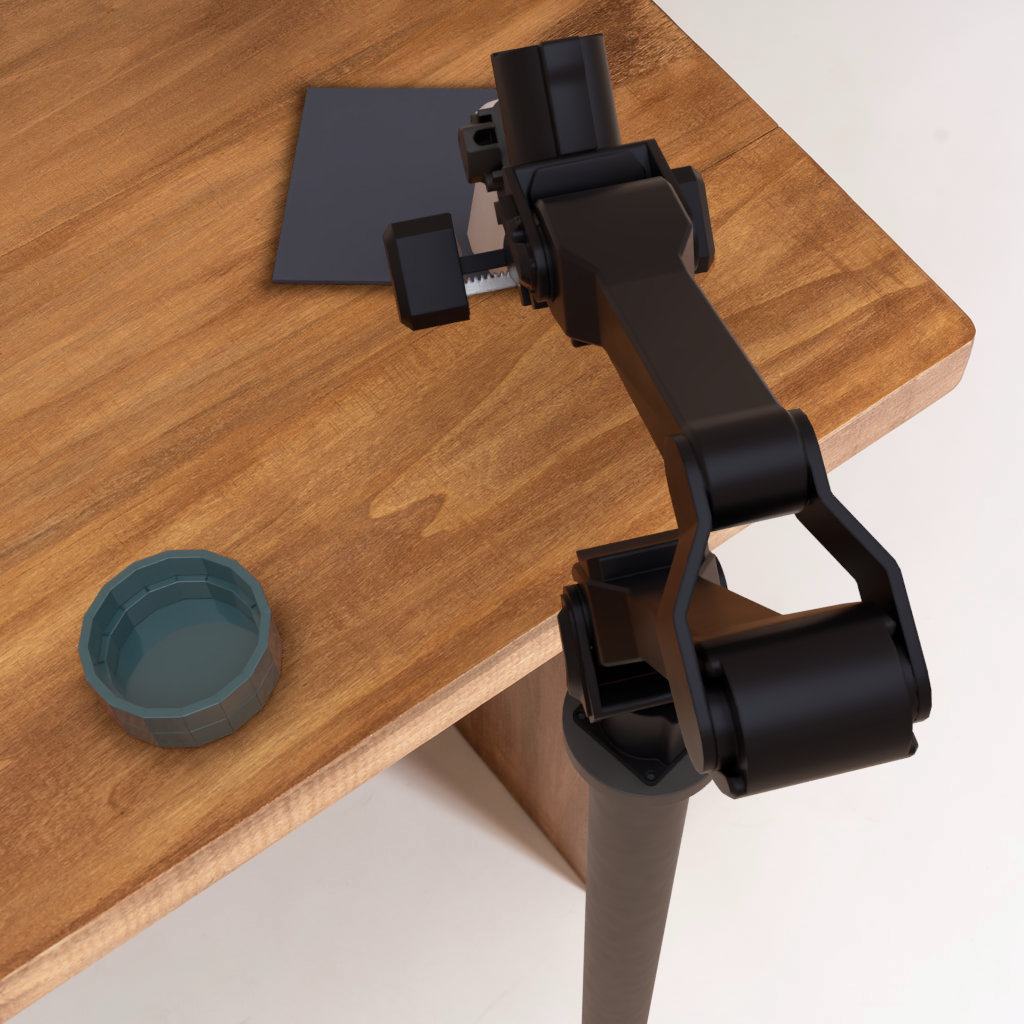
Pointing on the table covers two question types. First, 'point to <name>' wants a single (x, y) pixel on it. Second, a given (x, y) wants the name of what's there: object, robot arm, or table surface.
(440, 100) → the cloth
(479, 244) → the salt shaker
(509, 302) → the table surface
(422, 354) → the table surface
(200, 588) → the blue-grey round bowl
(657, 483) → the table surface
